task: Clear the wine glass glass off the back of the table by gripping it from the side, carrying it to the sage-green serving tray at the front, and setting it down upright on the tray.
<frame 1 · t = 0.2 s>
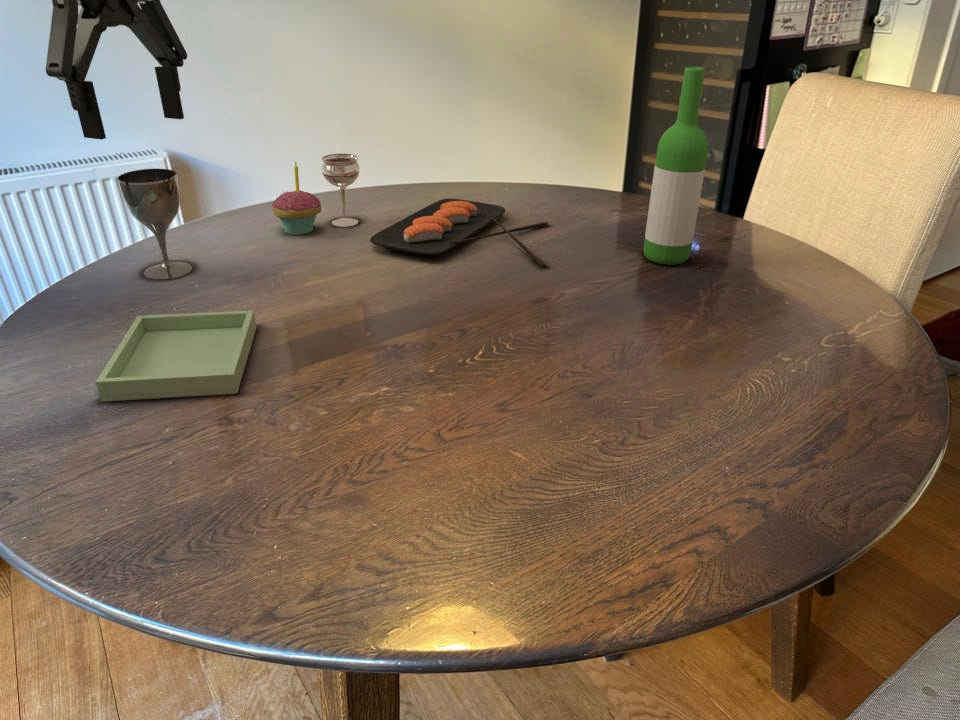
hand: (137, 127, 91), 24 cm above the table, tool pointing down, fingers open, 13 cm apart
tray: (186, 361, 86), on the table
wineglass: (345, 223, 132), on the table
cupcake: (300, 231, 128), on the table
wine bottle: (665, 259, 119), on the table
sushi plate: (480, 240, 125), on the table
wine glass: (168, 271, 111), on the table
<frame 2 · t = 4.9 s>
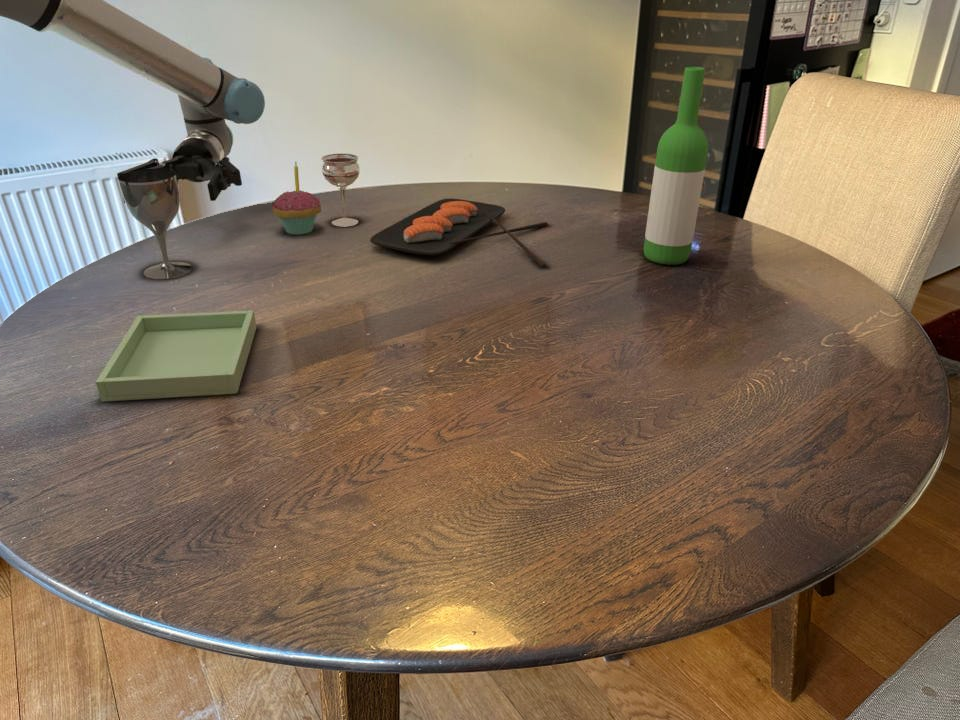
hand: (168, 194, 114), 10 cm above the table, tool horizontal, fingers open, 13 cm apart
nothing on the table moved.
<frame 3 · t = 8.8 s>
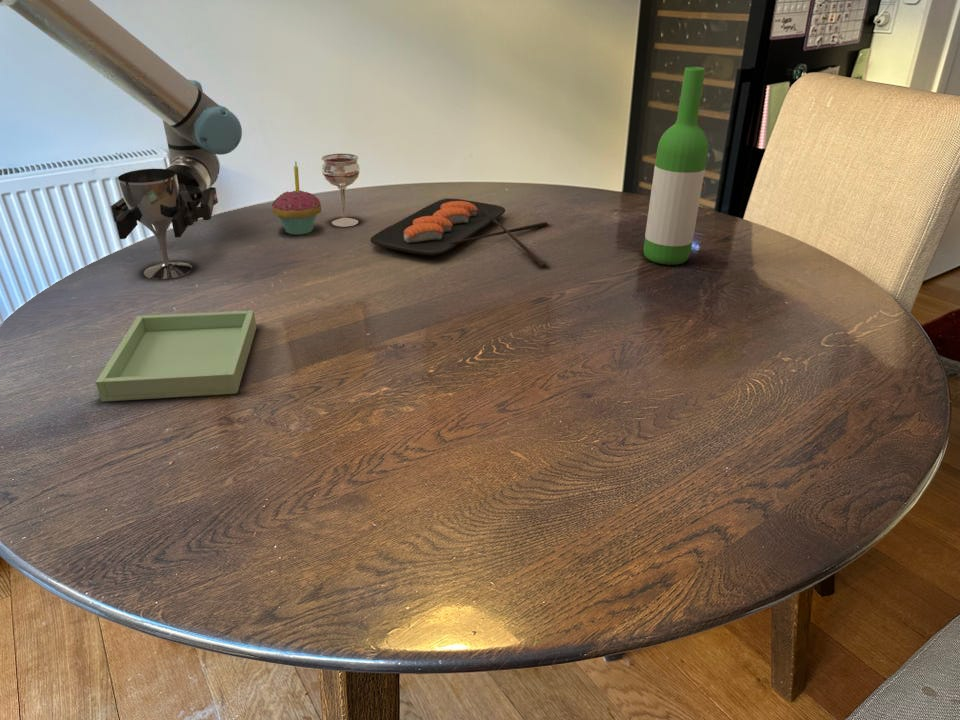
hand: (148, 229, 102), 8 cm above the table, tool horizontal, fingers closed on wine glass, 7 cm apart
wine glass: (168, 271, 111), on the table, touching gripper
everything else where it was.
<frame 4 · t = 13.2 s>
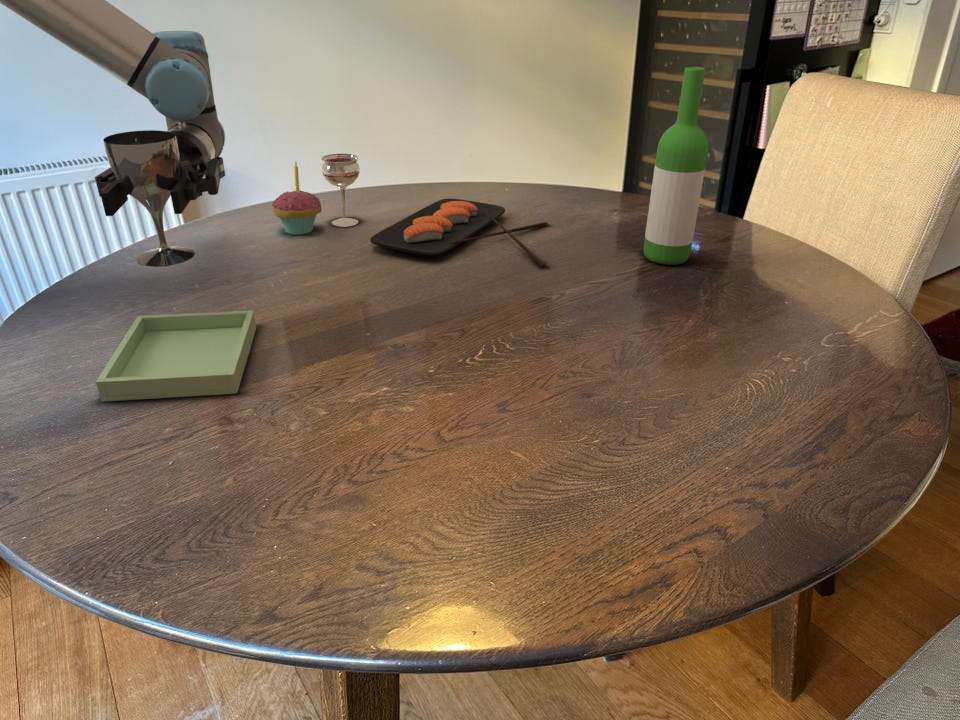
hand: (141, 203, 82), 18 cm above the table, tool horizontal, fingers closed on wine glass, 7 cm apart
wine glass: (166, 257, 91), point 9 cm above the table, touching gripper
everything else where it was.
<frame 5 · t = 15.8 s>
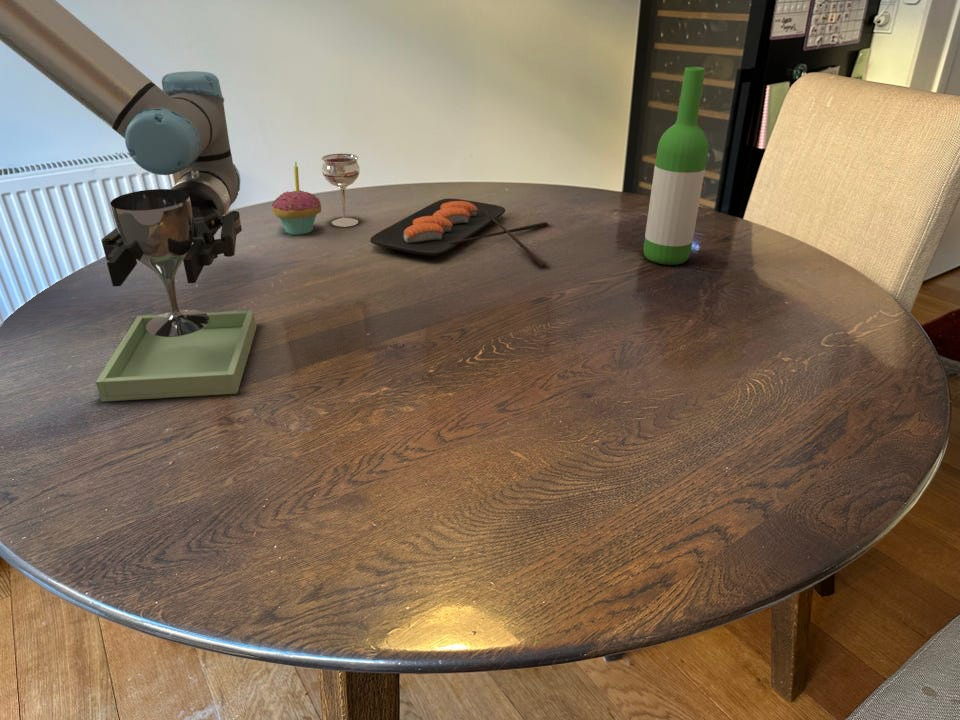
hand: (151, 273, 75), 14 cm above the table, tool horizontal, fingers closed on wine glass, 7 cm apart
wine glass: (178, 324, 83), point 5 cm above the table, touching gripper
everything else where it was.
when the fingers open (9 cm above the table, at t = 17.6 s): wine glass stays where it is, resting on tray.
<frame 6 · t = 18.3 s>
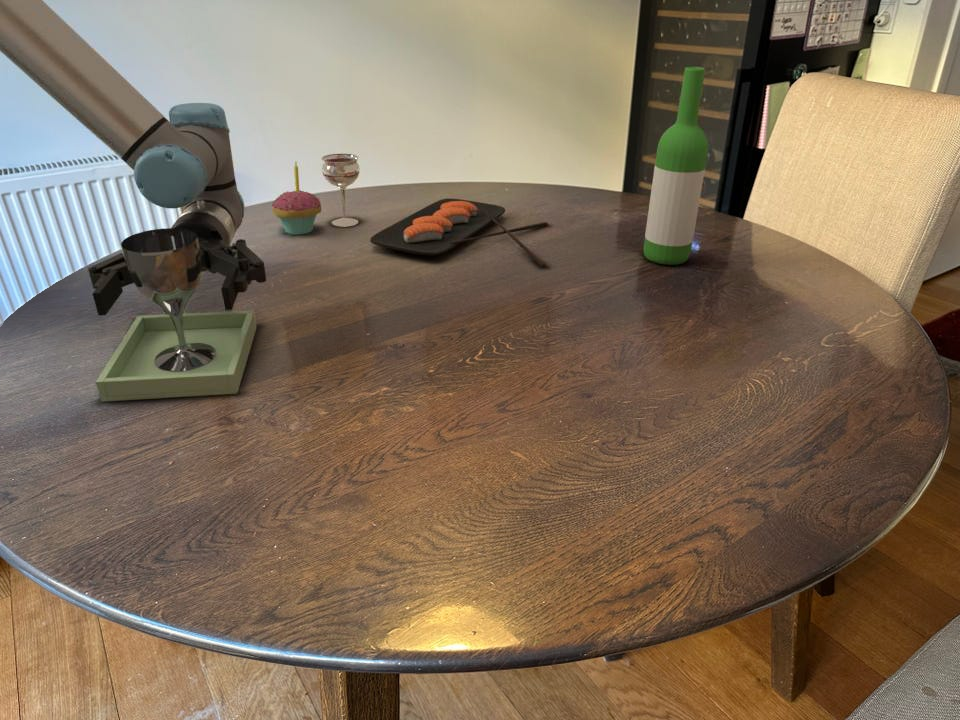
hand: (163, 301, 78), 10 cm above the table, tool horizontal, fingers open, 13 cm apart
wine glass: (185, 358, 86), resting on tray
everything else where it was.
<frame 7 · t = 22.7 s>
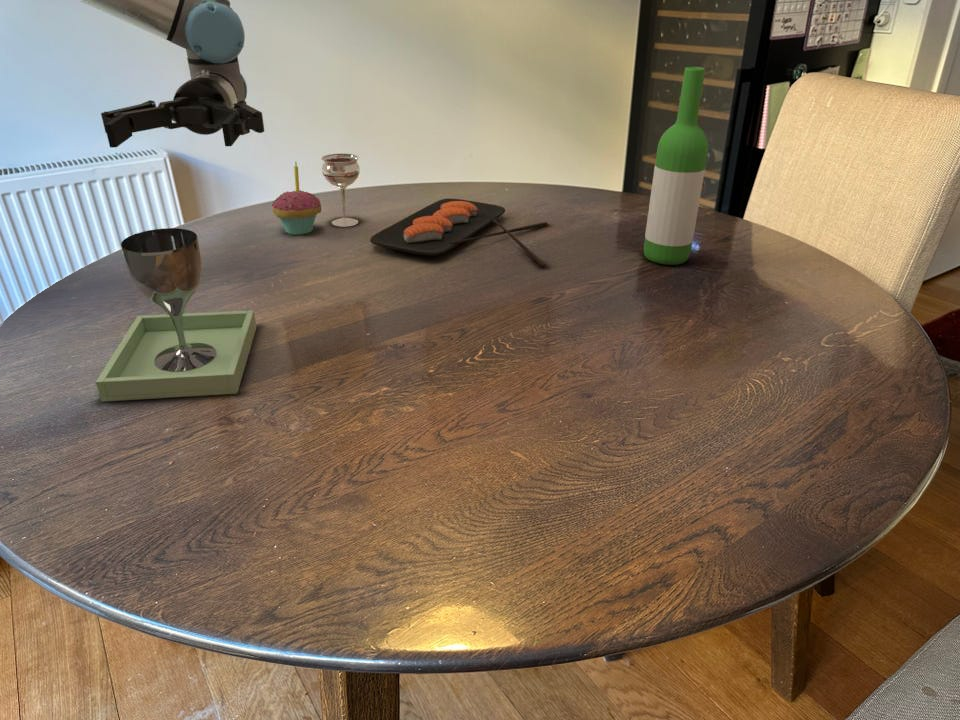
hand: (168, 135, 86), 24 cm above the table, tool horizontal, fingers open, 13 cm apart
nothing on the table moved.
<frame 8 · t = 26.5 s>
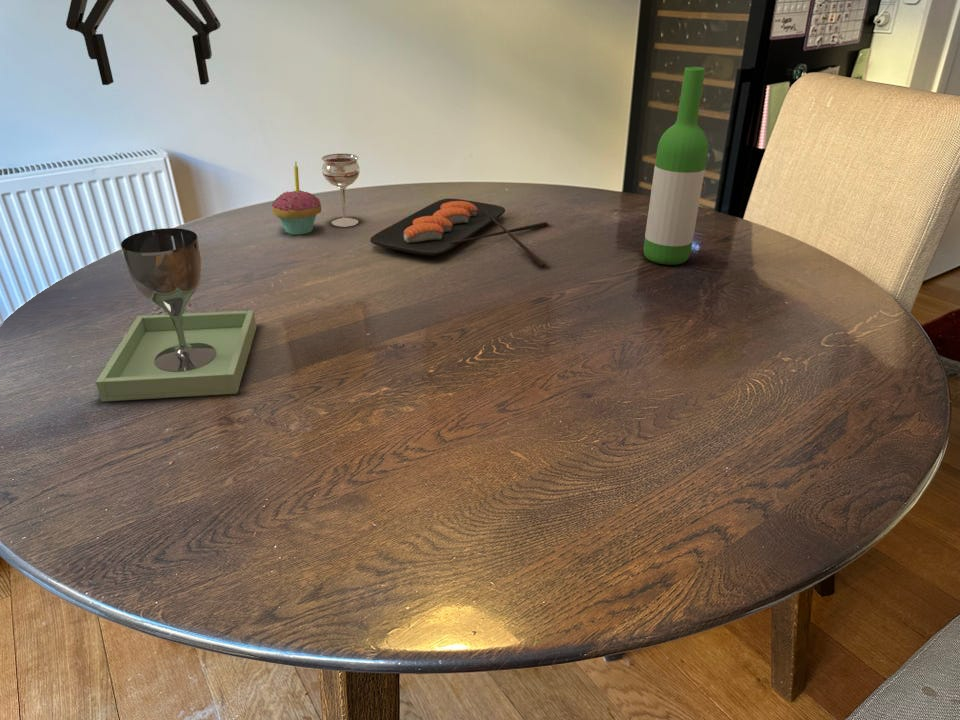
hand: (156, 83, 104), 27 cm above the table, tool pointing down, fingers open, 13 cm apart
nothing on the table moved.
at the end: wine glass inside the target area in the tray (0.0 cm from its centre), point 0.4 cm above the tray's base; wine glass tilted 0°; the gripper is holding nothing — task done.
